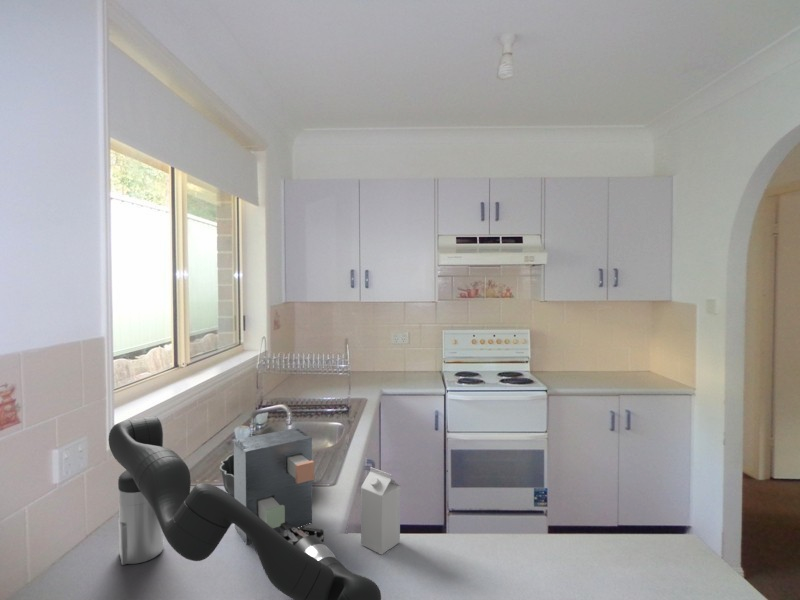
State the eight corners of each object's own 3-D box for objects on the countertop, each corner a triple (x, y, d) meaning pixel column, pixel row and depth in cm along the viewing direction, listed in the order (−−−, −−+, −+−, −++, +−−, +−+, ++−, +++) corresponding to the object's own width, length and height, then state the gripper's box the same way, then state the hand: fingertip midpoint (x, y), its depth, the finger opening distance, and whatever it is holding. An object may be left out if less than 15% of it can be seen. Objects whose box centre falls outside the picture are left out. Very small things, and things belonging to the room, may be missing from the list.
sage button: (266, 530, 115) (266, 511, 115) (254, 514, 122) (254, 497, 122) (284, 524, 118) (284, 506, 117) (271, 509, 125) (271, 492, 125)
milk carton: (379, 533, 125) (379, 462, 124) (400, 542, 121) (400, 470, 120) (360, 544, 120) (360, 471, 119) (381, 555, 115) (382, 479, 114)
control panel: (246, 544, 120) (245, 451, 118) (234, 527, 128) (233, 440, 126) (312, 523, 130) (311, 437, 129) (297, 508, 138) (296, 427, 137)
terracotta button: (297, 483, 119) (297, 465, 119) (283, 471, 126) (283, 454, 126) (314, 479, 122) (314, 461, 121) (299, 467, 129) (299, 450, 129)
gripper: (343, 535, 102) (309, 503, 116) (284, 556, 94) (255, 519, 108) (343, 569, 102) (309, 533, 116) (284, 592, 94) (255, 551, 109)
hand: (283, 526), depth 112 cm, fingers closed
